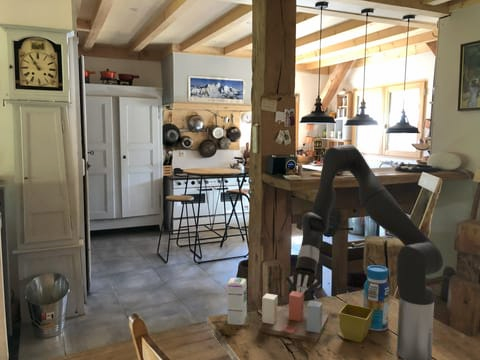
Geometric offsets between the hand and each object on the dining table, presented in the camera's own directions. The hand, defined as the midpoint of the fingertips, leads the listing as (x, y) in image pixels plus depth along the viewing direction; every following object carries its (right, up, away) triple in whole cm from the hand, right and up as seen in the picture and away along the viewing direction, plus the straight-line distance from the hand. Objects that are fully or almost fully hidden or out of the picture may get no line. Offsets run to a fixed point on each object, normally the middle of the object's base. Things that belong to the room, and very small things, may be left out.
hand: (298, 305), depth 143 cm
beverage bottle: (+25, -6, -4) cm, 26 cm away
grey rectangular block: (+4, -5, -10) cm, 12 cm away
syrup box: (-21, -6, 0) cm, 22 cm away
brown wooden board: (-2, -6, -3) cm, 7 cm away
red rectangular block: (-1, -4, -2) cm, 4 cm away
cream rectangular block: (-10, -4, -4) cm, 12 cm away
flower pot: (+16, -7, -12) cm, 21 cm away
